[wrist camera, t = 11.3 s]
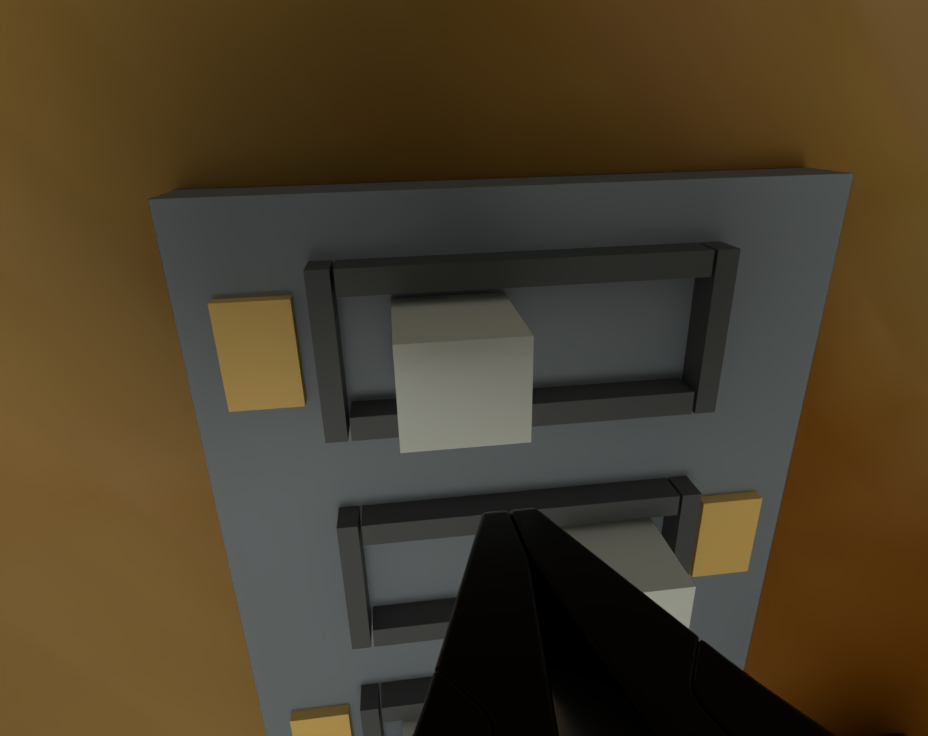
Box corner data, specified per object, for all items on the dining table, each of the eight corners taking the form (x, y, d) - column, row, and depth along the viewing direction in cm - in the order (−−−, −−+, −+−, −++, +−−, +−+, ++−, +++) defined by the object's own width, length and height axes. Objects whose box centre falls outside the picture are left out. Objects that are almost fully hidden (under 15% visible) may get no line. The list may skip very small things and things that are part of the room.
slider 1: (503, 291, 16) (533, 336, 13) (503, 380, 17) (531, 442, 14) (390, 297, 16) (392, 344, 12) (397, 388, 17) (400, 453, 13)
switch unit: (805, 167, 18) (882, 176, 15) (702, 707, 27) (738, 775, 24) (175, 190, 16) (131, 205, 13) (291, 762, 25) (279, 842, 22)
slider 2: (644, 508, 19) (695, 586, 16) (636, 571, 20) (684, 657, 17) (553, 517, 19) (588, 599, 16) (551, 581, 20) (582, 669, 17)
